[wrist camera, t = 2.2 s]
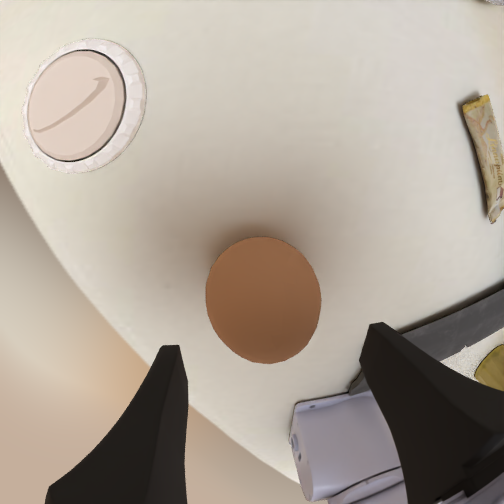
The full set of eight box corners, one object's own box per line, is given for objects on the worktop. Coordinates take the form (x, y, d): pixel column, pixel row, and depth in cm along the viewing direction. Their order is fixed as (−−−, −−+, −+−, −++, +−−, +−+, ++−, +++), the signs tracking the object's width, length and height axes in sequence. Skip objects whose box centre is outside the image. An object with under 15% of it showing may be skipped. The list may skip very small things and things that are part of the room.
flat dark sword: (345, 338, 22) (353, 356, 20) (568, 239, 21) (578, 245, 19) (346, 391, 25) (352, 408, 23) (556, 285, 24) (565, 292, 22)
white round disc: (167, 135, 14) (160, 138, 12) (54, 194, 14) (37, 205, 12) (121, 15, 10) (110, 4, 8) (13, 86, 11) (-7, 86, 9)
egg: (190, 282, 17) (183, 373, 11) (234, 201, 16) (250, 267, 9) (269, 313, 19) (293, 402, 13) (317, 244, 17) (370, 319, 11)
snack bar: (462, 106, 13) (494, 94, 12) (452, 102, 15) (483, 91, 13) (490, 226, 17) (517, 212, 16) (482, 216, 19) (509, 204, 17)
